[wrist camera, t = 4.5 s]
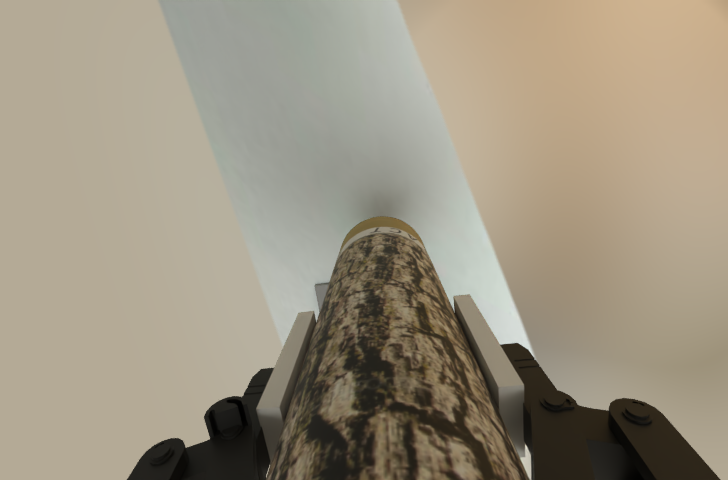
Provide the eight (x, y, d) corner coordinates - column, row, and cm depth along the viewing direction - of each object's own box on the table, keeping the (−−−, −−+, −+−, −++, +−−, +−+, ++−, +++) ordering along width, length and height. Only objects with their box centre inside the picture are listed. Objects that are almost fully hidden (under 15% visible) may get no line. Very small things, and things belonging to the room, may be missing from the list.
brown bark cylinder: (386, 308, 31) (423, 938, 7) (323, 259, 30) (94, 789, 5) (441, 251, 29) (761, 796, 5) (377, 196, 28) (389, 552, 4)
